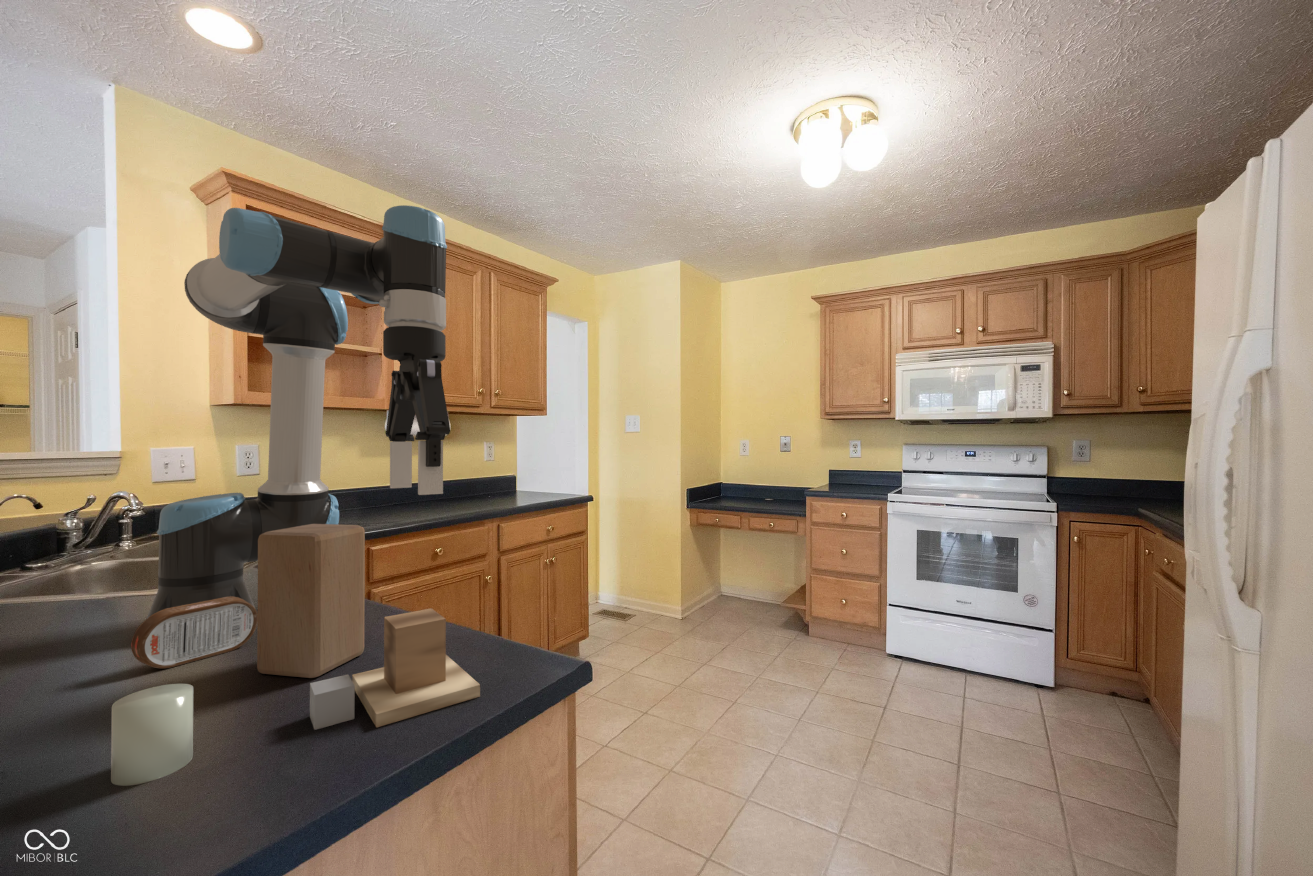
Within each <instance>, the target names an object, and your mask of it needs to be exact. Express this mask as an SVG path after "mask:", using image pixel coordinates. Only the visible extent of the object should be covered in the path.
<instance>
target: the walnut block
mask: <svg viewBox="0 0 1313 876" xmlns="http://www.w3.org/2000/svg"><path fill="white" fill-rule="evenodd" d="M383 619H384V621H383V626H384V627H383V632H384V633H383V646H384V647H383V655H384V656H383V667H384V679H385V680H386V682H387V683H388V684H389V686H390V687H391V688H392V690H393V691H394V692H395V694H398V693H402V692H406V691H410V690H413V689H417V688H421V687H424V686H428V685H432V684H436V683H439V682H443V681H446V655H447V650H446V649H447V643H446V640H447V639H446V638H447V637H446V636H447V635H446V634H447V633H446V631H447V625H446V624H447V621H446V620H447V619H446V617H444V616H443V615H441V614H440V613H438V612H437V611H436V610H434V609H433V608H425V609H421V610H416V611H409V612H403V613H397V614H393V615H389V616H387V615H386V616H384V617H383Z"/></svg>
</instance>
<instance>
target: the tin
mask: <svg viewBox="0 0 1313 876" xmlns="http://www.w3.org/2000/svg"><path fill="white" fill-rule="evenodd" d="M146 618H147V617H146ZM257 621H258V610H257V609H256V607H255V608H254V607H253V606H252V605H251V604H250V603H248V602H246V601H245V600H243V599H241V598H238V597H223V598H218V599H213V600H208V601H203V602H198V603H193V604H188V605H182V606H177V607H172V608H167V609H164V610H161V611H159V612H157V613H155V614H153V615H151V616H150V617H148V618H147V619H144V621H143V622H142V623H140V625H139V626H138V627H137V628H136V629H135V631H134V633H133V636H132V639H131V643H130V649H131V653H132V655H133V656H134V658H135V659H136V660H137V661H138V662H139V663H142V664H143V665H147V666H148V667H151V668H153V669H154V668H155V669H171V668H174V667H179V666H182V665H186V664H189V663H193V662H196V661H200V660H204V659H207V658H211V657H215V656H218V655H219V656H220V655H223V654H226V653H230V652H233V651H236V650H237V649H239V648H240V647H242V646H243V645H245V644H246V643H247V642H249V640H250V639H251V637H252V636H253V635H254V634H255V631H257V630H256V629H257Z"/></svg>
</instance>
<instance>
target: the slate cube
mask: <svg viewBox="0 0 1313 876" xmlns="http://www.w3.org/2000/svg"><path fill="white" fill-rule="evenodd" d="M355 694H356V692H355V685H354V683H353V682H352V677H350V675H349V674H348V673H347V674H343V675H339V676H334V677H331V678H330V677H329V678H327V679H323V680H319V681H314V682H310V683H309V718H310V721H311V724H312V727H313V730H314V731H315V730H320V729H323V728H326V727H329V726H333V725H337V724H338V725H339V724H341V723H344V722H347V721H351V720H354V719H355V699H356V698H355Z"/></svg>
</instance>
